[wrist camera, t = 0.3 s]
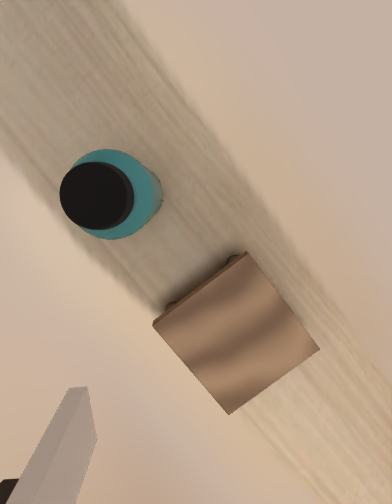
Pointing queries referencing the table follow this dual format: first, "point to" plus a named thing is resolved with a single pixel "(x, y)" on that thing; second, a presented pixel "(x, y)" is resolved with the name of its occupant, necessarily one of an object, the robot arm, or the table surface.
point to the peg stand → (235, 333)
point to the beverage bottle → (110, 194)
